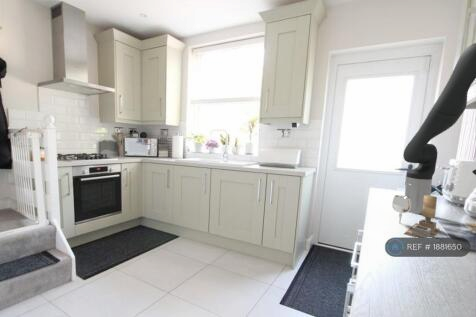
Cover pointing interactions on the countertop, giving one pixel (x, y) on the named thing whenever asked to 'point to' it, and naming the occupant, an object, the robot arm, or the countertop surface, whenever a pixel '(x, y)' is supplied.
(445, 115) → the robot arm
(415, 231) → the plank
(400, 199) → the wineglass
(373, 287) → the countertop surface
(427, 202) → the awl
